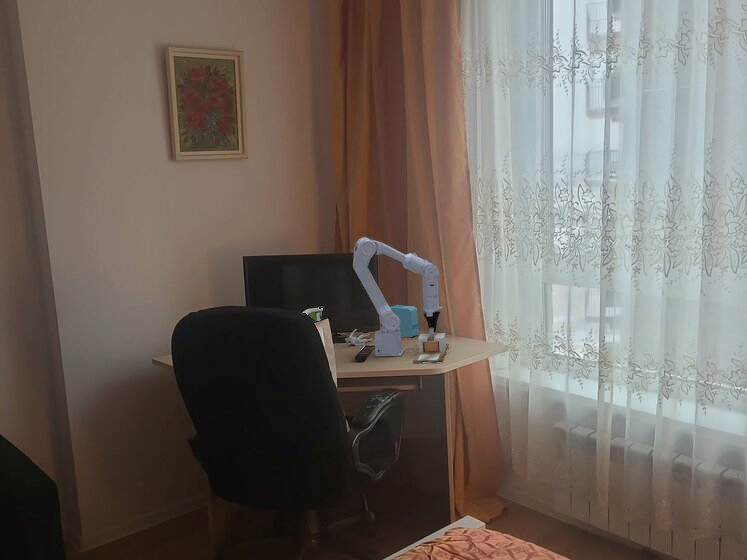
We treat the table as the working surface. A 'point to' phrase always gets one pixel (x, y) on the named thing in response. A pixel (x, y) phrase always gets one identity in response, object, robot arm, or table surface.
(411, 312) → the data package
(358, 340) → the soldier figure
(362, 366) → the table surface
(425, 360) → the walnut board
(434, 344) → the sled block
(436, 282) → the robot arm
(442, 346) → the grey tunnel
